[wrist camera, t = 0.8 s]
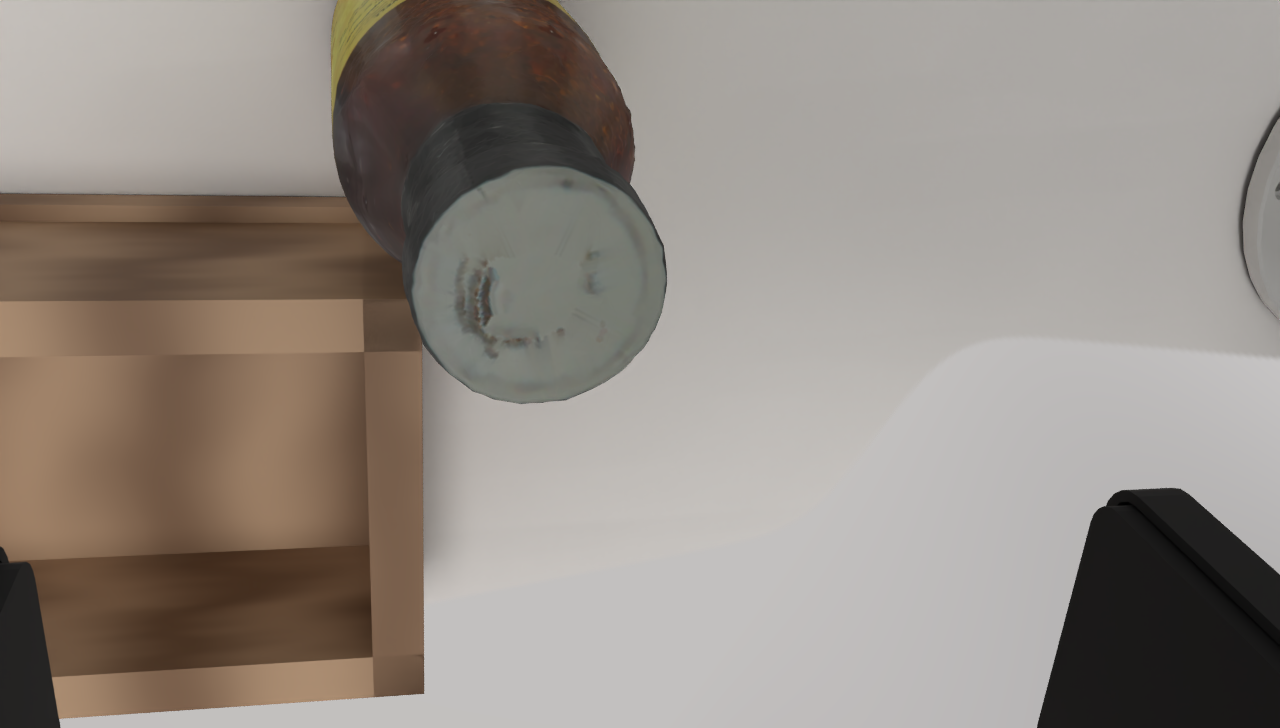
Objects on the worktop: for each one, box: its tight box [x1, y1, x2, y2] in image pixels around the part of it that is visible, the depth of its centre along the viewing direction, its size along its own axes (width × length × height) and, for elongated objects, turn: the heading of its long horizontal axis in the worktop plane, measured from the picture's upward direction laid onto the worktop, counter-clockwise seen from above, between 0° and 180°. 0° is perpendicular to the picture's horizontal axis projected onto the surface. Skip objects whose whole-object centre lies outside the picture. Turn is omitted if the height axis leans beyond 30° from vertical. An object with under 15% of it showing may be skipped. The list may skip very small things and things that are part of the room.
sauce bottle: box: [331, 0, 667, 404], centre depth 27 cm, size 7×6×20 cm
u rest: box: [0, 194, 424, 719], centre depth 36 cm, size 14×14×7 cm
